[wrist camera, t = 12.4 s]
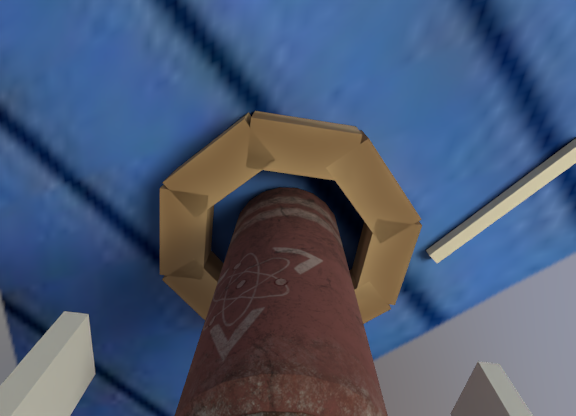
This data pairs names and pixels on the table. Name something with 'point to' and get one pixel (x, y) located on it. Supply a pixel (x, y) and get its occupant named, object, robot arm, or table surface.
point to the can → (283, 321)
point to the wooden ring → (299, 161)
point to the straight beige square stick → (505, 202)
